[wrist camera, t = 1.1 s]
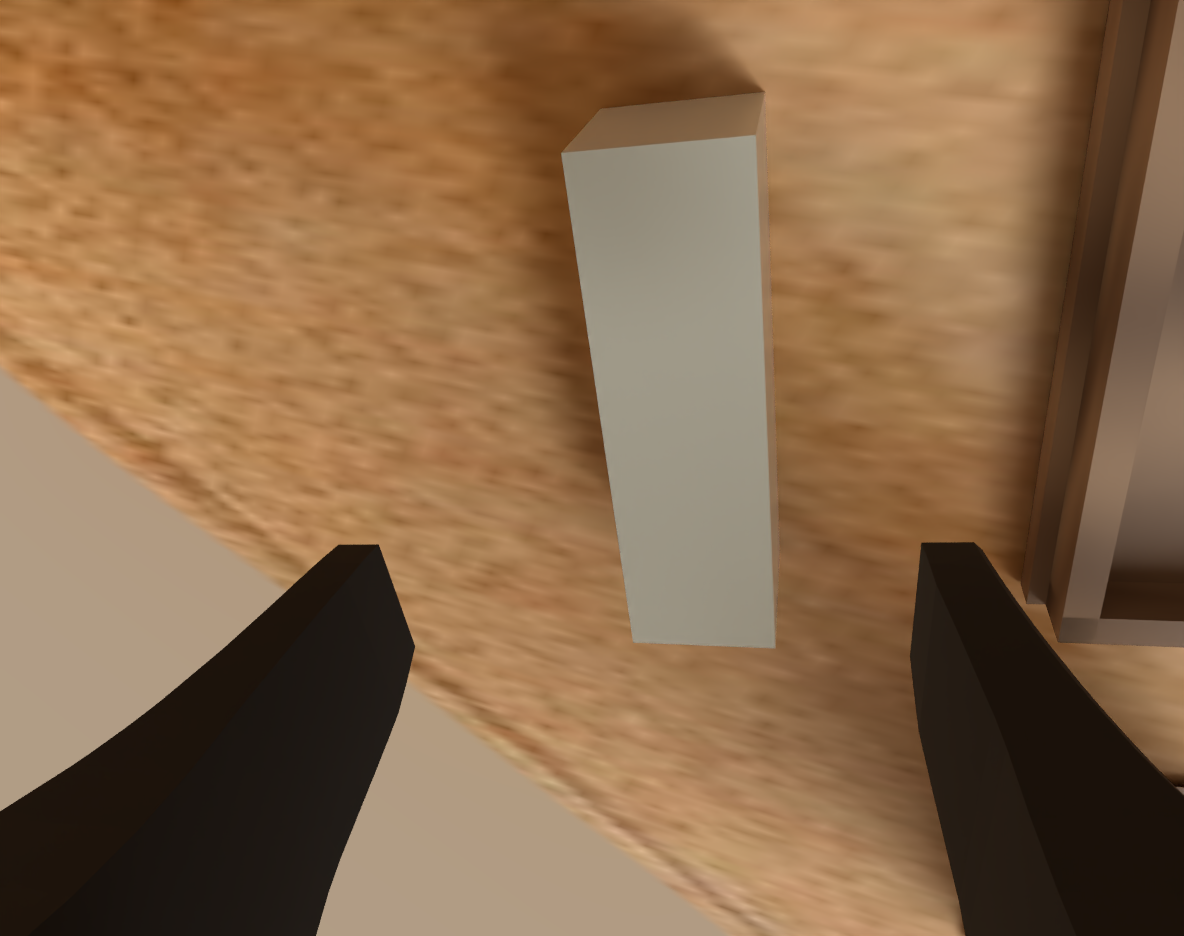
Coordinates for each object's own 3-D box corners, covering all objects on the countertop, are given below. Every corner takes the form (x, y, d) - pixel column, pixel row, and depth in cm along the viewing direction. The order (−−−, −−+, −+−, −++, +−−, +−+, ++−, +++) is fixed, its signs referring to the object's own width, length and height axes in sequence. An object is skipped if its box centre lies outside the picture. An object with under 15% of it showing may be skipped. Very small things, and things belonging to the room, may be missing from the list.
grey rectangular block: (780, 547, 25) (775, 648, 22) (655, 545, 26) (633, 642, 23) (765, 89, 19) (756, 135, 16) (602, 106, 20) (561, 153, 17)
